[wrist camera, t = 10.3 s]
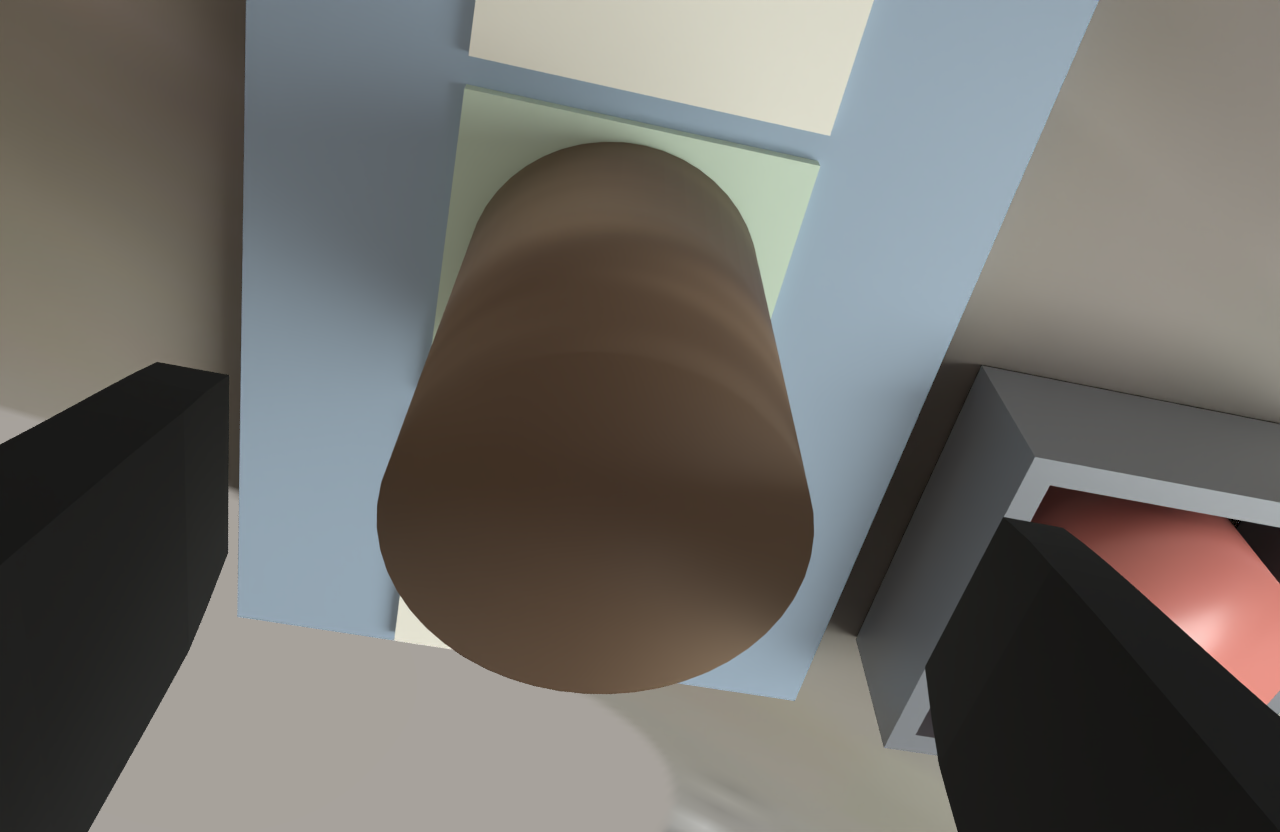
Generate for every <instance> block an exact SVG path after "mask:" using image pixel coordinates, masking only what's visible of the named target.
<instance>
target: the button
mask: <svg viewBox="0 0 1280 832" xmlns="http://www.w3.org/2000/svg"><path fill="white" fill-rule="evenodd" d="M1030 522H1034V523H1040V524H1045V525H1051V526H1056V527H1062V528H1064V529H1065V530H1067V531H1068V532H1069V533H1071V534H1072V535H1073V536H1075V537H1076V538H1077V539H1079V540H1080V541H1081V542H1083V543H1084V544H1085V545H1086V546H1088V547H1089V548H1090V549H1091V550H1093V551H1094V552H1095V553H1096V554H1097V555H1099V556H1100V557H1101V558H1102V559H1103V560H1105V561H1106V562H1107V563H1108V564H1109V565H1110V566H1112V567H1113V568H1114V569H1115V570H1116V571H1117V572H1118V573H1120V574H1121V575H1122V576H1123V577H1124V578H1125V579H1126V580H1128V581H1129V582H1130V583H1131V584H1132V585H1133V586H1134V587H1136V588H1137V589H1138V590H1139V591H1140V592H1141V593H1142V594H1143V595H1144V596H1146V597H1147V598H1148V599H1149V600H1150V601H1151V602H1152V603H1153V604H1154V605H1156V606H1157V607H1158V608H1159V609H1160V610H1161V611H1162V612H1163V613H1164V614H1165V615H1167V616H1168V617H1169V618H1170V619H1171V620H1172V621H1173V622H1174V623H1175V624H1177V625H1178V626H1179V627H1180V628H1181V629H1182V630H1183V631H1184V632H1185V633H1187V634H1188V635H1189V636H1190V637H1191V638H1192V639H1193V640H1194V641H1195V642H1196V643H1198V644H1199V645H1200V646H1201V647H1202V648H1203V649H1204V650H1205V651H1206V652H1208V653H1209V654H1210V655H1211V656H1212V657H1213V658H1214V659H1215V660H1216V661H1218V662H1219V663H1220V664H1221V665H1222V666H1223V667H1224V668H1225V669H1227V670H1228V671H1229V672H1230V673H1231V674H1232V675H1233V676H1234V677H1235V678H1237V679H1238V680H1239V681H1240V682H1241V683H1242V684H1243V685H1244V686H1246V687H1247V688H1248V689H1249V690H1250V691H1251V692H1252V693H1254V694H1255V695H1256V696H1257V697H1258V698H1259V699H1260V700H1261V701H1263V702H1264V703H1265V704H1266V705H1267V704H1268V703H1269V702H1270V701H1271V700H1272V699H1273V698H1274V696H1275V695H1276V694H1277V693H1278V692H1279V691H1280V584H1279V582H1278V581H1277V580H1276V579H1275V577H1274V576H1273V575H1272V574H1271V572H1270V571H1269V570H1268V569H1267V567H1266V566H1265V565H1264V564H1263V562H1262V561H1261V560H1260V558H1259V557H1258V556H1257V555H1256V553H1255V552H1254V551H1253V550H1252V548H1251V547H1250V546H1249V545H1248V543H1247V542H1246V541H1245V540H1244V538H1243V537H1242V536H1241V534H1240V533H1239V532H1238V531H1237V529H1236V528H1235V527H1234V526H1233V524H1232V523H1231V522H1230V521H1229V519H1228V518H1225V517H1220V516H1214V515H1209V514H1203V513H1198V512H1193V511H1187V510H1182V509H1176V508H1171V507H1165V506H1160V505H1154V504H1149V503H1143V502H1138V501H1133V500H1127V499H1122V498H1116V497H1111V496H1105V495H1100V494H1094V493H1089V492H1084V491H1078V490H1073V489H1067V488H1062V487H1056V486H1051V485H1050V486H1049V488H1048V490H1047V492H1046V494H1045V496H1044V497H1043V499H1042V501H1041V503H1040V505H1039V507H1038V508H1037V510H1036V512H1035V514H1034V516H1033V518H1032V520H1031V521H1030Z"/></svg>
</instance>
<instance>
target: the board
mask: <svg viewBox="0 0 1280 832" xmlns="http://www.w3.org/2000/svg"><path fill="white" fill-rule="evenodd" d="M1098 1H1099V0H246V42H245V114H244V186H243V257H242V329H241V400H240V472H239V545H238V547H239V548H238V551H239V552H238V615H237V616H238V617H243V618H250V619H256V620H263V621H269V622H276V623H283V624H289V625H296V626H302V627H309V628H316V629H322V630H330V631H336V632H342V633H349V634H355V635H362V636H369V637H375V638H382V639H389V640H394V641H400V642H406V643H413V644H420V645H426V646H433V647H439V648H446V649H451V648H450V647H449V646H447V645H446V644H444V643H443V642H442V641H441V640H440V639H438V638H437V637H436V636H435V635H434V634H433V633H431V632H430V631H429V630H428V629H427V628H426V627H425V626H424V625H423V624H422V623H421V622H420V621H419V620H418V618H417V617H416V616H415V615H414V614H413V613H412V612H411V611H410V609H409V608H408V606H407V605H406V604H405V602H404V601H403V599H402V598H401V596H400V595H399V593H398V592H397V590H396V588H395V586H394V584H393V582H392V580H391V578H390V576H389V574H388V572H387V570H386V567H385V564H384V560H383V557H382V554H381V551H380V546H379V540H378V533H377V502H378V497H379V491H380V486H381V481H382V479H383V476H384V473H385V471H386V468H387V465H388V462H389V460H390V457H391V454H392V452H393V449H394V446H395V443H396V441H397V438H398V435H399V433H400V430H401V427H402V425H403V422H404V419H405V416H406V414H407V411H408V408H409V406H410V403H411V400H412V397H413V395H414V392H415V389H416V387H417V384H418V381H419V378H420V376H421V373H422V370H423V368H424V365H425V362H426V360H427V357H428V354H429V351H430V349H431V346H432V343H433V341H434V338H435V335H436V332H437V330H438V327H439V324H440V322H441V319H442V316H443V313H444V311H445V308H446V305H447V303H448V300H449V297H450V295H451V292H452V289H453V286H454V284H455V281H456V278H457V276H458V273H459V270H460V267H461V265H462V262H463V259H464V257H465V254H466V251H467V248H468V246H469V243H470V240H471V238H472V235H473V232H474V230H475V227H476V224H477V222H478V220H479V218H480V216H481V214H482V212H483V211H484V209H485V207H486V205H487V204H488V203H489V201H490V200H491V199H492V197H493V196H494V195H495V193H496V192H497V191H498V190H499V189H500V188H501V187H502V186H503V185H504V184H505V183H506V182H507V181H508V180H509V179H510V178H511V177H512V176H514V175H515V174H516V173H518V172H519V171H520V170H522V169H523V168H524V167H526V166H527V165H529V164H531V163H532V162H534V161H536V160H538V159H540V158H541V157H543V156H546V155H548V154H551V153H553V152H556V151H558V150H561V149H564V148H568V147H572V146H576V145H580V144H587V143H596V142H625V143H632V144H638V145H644V146H648V147H651V148H655V149H658V150H662V151H665V152H667V153H669V154H672V155H674V156H676V157H679V158H681V159H683V160H685V161H686V162H688V163H690V164H691V165H693V166H695V167H696V168H698V169H699V170H701V171H702V172H703V173H704V174H706V175H707V176H708V177H710V178H711V179H712V180H713V181H715V183H716V184H717V185H718V186H719V187H720V188H721V189H722V190H723V191H724V192H725V193H726V194H727V195H728V196H729V198H730V199H731V200H732V202H733V203H734V205H735V206H736V207H737V209H738V210H739V212H740V214H741V216H742V217H743V219H744V221H745V223H746V225H747V227H748V230H749V232H750V235H751V238H752V241H753V244H754V248H755V252H756V257H757V261H758V265H759V270H760V274H761V279H762V283H763V288H764V292H765V297H766V301H767V305H768V310H769V314H770V319H771V323H772V328H773V332H774V337H775V341H776V345H777V350H778V354H779V359H780V363H781V368H782V372H783V377H784V381H785V385H786V390H787V394H788V399H789V403H790V408H791V412H792V417H793V421H794V425H795V430H796V434H797V439H798V443H799V448H800V452H801V457H802V461H803V466H804V470H805V474H806V479H807V483H808V488H809V492H810V498H811V503H812V508H813V514H814V539H813V546H812V554H811V559H810V562H809V565H808V568H807V572H806V575H805V578H804V580H803V582H802V584H801V586H800V588H799V590H798V592H797V594H796V596H795V598H794V600H793V601H792V603H791V604H790V605H789V607H788V608H787V610H786V611H785V613H784V614H783V616H782V617H781V618H780V619H779V620H778V621H777V622H776V623H775V625H774V626H773V627H772V628H771V629H770V630H769V631H768V632H767V633H766V634H765V635H764V636H763V637H762V638H760V639H759V640H758V641H757V642H756V643H754V644H753V645H752V646H751V647H750V648H748V649H747V650H745V651H744V652H742V653H741V654H739V655H738V656H736V657H735V658H733V659H732V660H730V661H729V662H727V663H725V664H723V665H721V666H719V667H717V668H715V669H713V670H711V671H709V672H707V673H704V674H702V675H699V676H697V677H694V678H691V679H689V680H686V681H683V682H680V684H687V685H693V686H700V687H707V688H713V689H720V690H726V691H733V692H740V693H746V694H753V695H759V696H766V697H773V698H779V699H786V700H793V701H795V699H796V697H797V694H798V692H799V690H800V687H801V685H802V683H803V680H804V678H805V676H806V674H807V671H808V669H809V667H810V664H811V662H812V660H813V657H814V655H815V653H816V650H817V648H818V646H819V644H820V641H821V639H822V637H823V634H824V632H825V630H826V627H827V625H828V623H829V621H830V618H831V616H832V614H833V611H834V609H835V607H836V604H837V602H838V600H839V598H840V595H841V593H842V591H843V588H844V586H845V584H846V581H847V579H848V577H849V575H850V572H851V570H852V568H853V565H854V563H855V561H856V558H857V556H858V554H859V551H860V549H861V547H862V545H863V542H864V540H865V538H866V535H867V533H868V531H869V528H870V526H871V524H872V522H873V519H874V517H875V515H876V512H877V510H878V508H879V505H880V503H881V501H882V499H883V496H884V494H885V492H886V489H887V487H888V485H889V482H890V480H891V478H892V476H893V473H894V471H895V469H896V466H897V464H898V462H899V459H900V457H901V455H902V452H903V450H904V448H905V446H906V443H907V441H908V439H909V436H910V434H911V432H912V429H913V427H914V425H915V423H916V420H917V418H918V416H919V413H920V411H921V409H922V406H923V404H924V402H925V400H926V397H927V395H928V393H929V390H930V388H931V386H932V383H933V381H934V379H935V377H936V374H937V372H938V370H939V367H940V365H941V363H942V360H943V358H944V356H945V353H946V351H947V349H948V347H949V344H950V342H951V340H952V337H953V335H954V333H955V330H956V328H957V326H958V324H959V321H960V319H961V317H962V314H963V312H964V310H965V307H966V305H967V303H968V301H969V298H970V296H971V294H972V291H973V289H974V287H975V284H976V282H977V280H978V278H979V275H980V273H981V271H982V268H983V266H984V264H985V261H986V259H987V257H988V254H989V252H990V250H991V248H992V245H993V243H994V241H995V238H996V236H997V234H998V231H999V229H1000V227H1001V225H1002V222H1003V220H1004V218H1005V215H1006V213H1007V211H1008V208H1009V206H1010V204H1011V202H1012V199H1013V197H1014V195H1015V192H1016V190H1017V188H1018V185H1019V183H1020V181H1021V179H1022V176H1023V174H1024V172H1025V169H1026V167H1027V165H1028V162H1029V160H1030V158H1031V155H1032V153H1033V151H1034V149H1035V146H1036V144H1037V142H1038V139H1039V137H1040V135H1041V132H1042V130H1043V128H1044V126H1045V123H1046V121H1047V119H1048V116H1049V114H1050V112H1051V109H1052V107H1053V105H1054V103H1055V100H1056V98H1057V96H1058V93H1059V91H1060V89H1061V86H1062V84H1063V82H1064V80H1065V77H1066V75H1067V73H1068V70H1069V68H1070V66H1071V63H1072V61H1073V59H1074V56H1075V54H1076V52H1077V50H1078V47H1079V45H1080V43H1081V40H1082V38H1083V36H1084V33H1085V31H1086V29H1087V27H1088V24H1089V22H1090V20H1091V17H1092V15H1093V13H1094V10H1095V8H1096V6H1097V4H1098Z"/></svg>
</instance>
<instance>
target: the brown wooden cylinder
mask: <svg viewBox="0 0 1280 832" xmlns="http://www.w3.org/2000/svg"><path fill="white" fill-rule="evenodd" d="M377 533H378V540H379V546H380V551H381V554H382V557H383V560H384V564H385V567H386V570H387V572H388V574H389V576H390V578H391V580H392V582H393V584H394V586H395V588H396V590H397V592H398V593H399V595H400V596H401V598H402V599H403V601H404V602H405V604H406V605H407V606H408V608H409V609H410V611H411V612H412V613H413V614H414V615H415V616H416V617H417V618H418V620H419V621H420V622H421V623H422V624H423V625H424V626H425V627H426V628H427V629H428V630H429V631H430V632H431V633H433V634H434V635H435V636H436V637H437V638H438V639H440V640H441V641H442V642H443V643H444V644H446V645H447V646H449V647H450V648H451V649H453V650H455V651H456V652H457V653H459V654H460V655H462V656H463V657H465V658H467V659H469V660H470V661H472V662H474V663H476V664H478V665H480V666H482V667H483V668H485V669H487V670H490V671H492V672H495V673H497V674H500V675H502V676H505V677H507V678H510V679H513V680H516V681H519V682H523V683H526V684H529V685H533V686H537V687H542V688H547V689H552V690H557V691H565V692H574V693H583V694H616V693H630V692H638V691H644V690H650V689H656V688H661V687H665V686H669V685H672V684H676V683H680V682H683V681H686V680H689V679H691V678H694V677H697V676H699V675H702V674H704V673H707V672H709V671H711V670H713V669H715V668H717V667H719V666H721V665H723V664H725V663H727V662H729V661H730V660H732V659H733V658H735V657H736V656H738V655H739V654H741V653H742V652H744V651H745V650H747V649H748V648H750V647H751V646H752V645H753V644H754V643H756V642H757V641H758V640H759V639H760V638H762V637H763V636H764V635H765V634H766V633H767V632H768V631H769V630H770V629H771V628H772V627H773V626H774V625H775V623H776V622H777V621H778V620H779V619H780V618H781V617H782V616H783V614H784V613H785V611H786V610H787V608H788V607H789V605H790V604H791V603H792V601H793V600H794V598H795V596H796V594H797V592H798V590H799V588H800V586H801V584H802V582H803V580H804V578H805V575H806V572H807V568H808V565H809V562H810V559H811V554H812V546H813V539H814V514H813V508H812V503H811V498H810V492H809V488H808V483H807V479H806V474H805V470H804V466H803V461H802V457H801V452H800V448H799V443H798V439H797V434H796V430H795V425H794V421H793V417H792V412H791V408H790V403H789V399H788V394H787V390H786V385H785V381H784V377H783V372H782V368H781V363H780V359H779V354H778V350H777V345H776V341H775V337H774V332H773V328H772V323H771V319H770V314H769V310H768V305H767V301H766V297H765V292H764V288H763V283H762V279H761V274H760V270H759V265H758V261H757V257H756V252H755V248H754V244H753V241H752V238H751V235H750V232H749V230H748V227H747V225H746V223H745V221H744V219H743V217H742V216H741V214H740V212H739V210H738V209H737V207H736V206H735V205H734V203H733V202H732V200H731V199H730V198H729V196H728V195H727V194H726V193H725V192H724V191H723V190H722V189H721V188H720V187H719V186H718V185H717V184H716V183H715V181H713V180H712V179H711V178H710V177H708V176H707V175H706V174H704V173H703V172H702V171H701V170H699V169H698V168H696V167H695V166H693V165H691V164H690V163H688V162H686V161H685V160H683V159H681V158H679V157H676V156H674V155H672V154H669V153H667V152H665V151H662V150H658V149H655V148H651V147H648V146H644V145H638V144H632V143H625V142H596V143H587V144H580V145H576V146H572V147H568V148H564V149H561V150H558V151H556V152H553V153H551V154H548V155H546V156H543V157H541V158H540V159H538V160H536V161H534V162H532V163H531V164H529V165H527V166H526V167H524V168H523V169H522V170H520V171H519V172H518V173H516V174H515V175H514V176H512V177H511V178H510V179H509V180H508V181H507V182H506V183H505V184H504V185H503V186H502V187H501V188H500V189H499V190H498V191H497V192H496V193H495V195H494V196H493V197H492V199H491V200H490V201H489V203H488V204H487V205H486V207H485V209H484V211H483V212H482V214H481V216H480V218H479V220H478V222H477V224H476V227H475V230H474V232H473V235H472V238H471V240H470V243H469V246H468V248H467V251H466V254H465V257H464V259H463V262H462V265H461V267H460V270H459V273H458V276H457V278H456V281H455V284H454V286H453V289H452V292H451V295H450V297H449V300H448V303H447V305H446V308H445V311H444V313H443V316H442V319H441V322H440V324H439V327H438V330H437V332H436V335H435V338H434V341H433V343H432V346H431V349H430V351H429V354H428V357H427V360H426V362H425V365H424V368H423V370H422V373H421V376H420V378H419V381H418V384H417V387H416V389H415V392H414V395H413V397H412V400H411V403H410V406H409V408H408V411H407V414H406V416H405V419H404V422H403V425H402V427H401V430H400V433H399V435H398V438H397V441H396V443H395V446H394V449H393V452H392V454H391V457H390V460H389V462H388V465H387V468H386V471H385V473H384V476H383V479H382V481H381V486H380V491H379V497H378V502H377Z"/></svg>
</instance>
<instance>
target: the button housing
mask: <svg viewBox="0 0 1280 832" xmlns="http://www.w3.org/2000/svg"><path fill="white" fill-rule="evenodd" d="M1050 485H1051V486H1056V487H1062V488H1067V489H1073V490H1078V491H1084V492H1089V493H1094V494H1100V495H1105V496H1111V497H1116V498H1122V499H1127V500H1133V501H1138V502H1143V503H1149V504H1154V505H1160V506H1165V507H1171V508H1176V509H1182V510H1187V511H1193V512H1198V513H1203V514H1209V515H1214V516H1220V517H1225V518H1231V519H1236V520H1242V521H1241V523H1240V524H1239V526H1238V527H1237V531H1238V532H1239V533H1240V534H1241V536H1242V537H1243V538H1244V540H1245V541H1246V542H1247V543H1248V545H1249V546H1250V547H1251V548H1252V550H1253V551H1254V552H1255V553H1256V555H1257V556H1258V557H1259V558H1260V560H1261V561H1262V562H1263V564H1264V565H1265V566H1266V567H1267V569H1268V570H1269V571H1270V572H1271V574H1272V575H1273V576H1274V577H1275V579H1276V580H1277V581H1278V582H1279V584H1280V424H1276V423H1271V422H1266V421H1261V420H1256V419H1251V418H1246V417H1241V416H1236V415H1230V414H1225V413H1220V412H1215V411H1210V410H1205V409H1200V408H1195V407H1190V406H1185V405H1180V404H1175V403H1170V402H1165V401H1160V400H1154V399H1149V398H1144V397H1139V396H1134V395H1129V394H1124V393H1119V392H1114V391H1109V390H1104V389H1099V388H1094V387H1089V386H1083V385H1078V384H1073V383H1068V382H1063V381H1058V380H1053V379H1048V378H1043V377H1038V376H1033V375H1028V374H1023V373H1018V372H1012V371H1007V370H1002V369H997V368H992V367H987V366H981V368H980V370H979V372H978V375H977V377H976V379H975V381H974V383H973V385H972V388H971V390H970V392H969V394H968V396H967V399H966V401H965V403H964V405H963V407H962V409H961V412H960V414H959V416H958V418H957V420H956V422H955V425H954V427H953V429H952V431H951V433H950V436H949V438H948V440H947V442H946V444H945V446H944V449H943V451H942V453H941V455H940V457H939V460H938V462H937V464H936V466H935V468H934V470H933V473H932V475H931V477H930V479H929V481H928V483H927V486H926V488H925V490H924V492H923V494H922V497H921V499H920V501H919V503H918V505H917V507H916V510H915V512H914V514H913V516H912V518H911V520H910V523H909V525H908V527H907V529H906V531H905V534H904V536H903V538H902V540H901V542H900V544H899V547H898V549H897V551H896V553H895V555H894V558H893V560H892V562H891V564H890V566H889V568H888V571H887V573H886V575H885V577H884V579H883V581H882V584H881V586H880V588H879V590H878V592H877V595H876V597H875V599H874V601H873V603H872V605H871V608H870V610H869V612H868V614H867V616H866V618H865V621H864V623H863V625H862V627H861V629H860V632H859V634H858V636H857V638H856V641H857V645H858V649H859V652H860V656H861V660H862V664H863V668H864V672H865V676H866V680H867V684H868V687H869V691H870V695H871V699H872V703H873V707H874V711H875V715H876V719H877V722H878V726H879V730H880V734H881V738H882V742H883V746H884V748H890V749H896V750H903V751H910V752H917V753H924V754H930V755H937V749H936V743H935V737H934V731H933V725H932V719H931V711H930V703H929V696H928V688H927V680H926V672H925V666H926V664H927V662H928V660H929V658H930V656H931V654H932V652H933V650H934V648H935V646H936V645H937V643H938V641H939V639H940V637H941V635H942V633H943V631H944V629H945V627H946V625H947V623H948V622H949V620H950V618H951V616H952V614H953V612H954V610H955V608H956V606H957V604H958V602H959V600H960V599H961V597H962V595H963V593H964V591H965V589H966V587H967V585H968V583H969V581H970V579H971V577H972V576H973V574H974V572H975V570H976V568H977V566H978V564H979V562H980V560H981V558H982V556H983V555H984V553H985V551H986V549H987V547H988V545H989V543H990V541H991V539H992V537H993V535H994V533H995V532H996V530H997V528H998V526H999V524H1000V522H1001V520H1002V518H1003V517H1007V518H1012V519H1018V520H1023V521H1029V522H1030V521H1031V520H1032V518H1033V516H1034V514H1035V512H1036V510H1037V508H1038V507H1039V505H1040V503H1041V501H1042V499H1043V497H1044V496H1045V494H1046V492H1047V490H1048V488H1049V486H1050ZM1267 706H1268V707H1269V708H1271V709H1272V710H1273V711H1274V712H1275V713H1276V714H1279V713H1280V691H1279V692H1278V693H1277V694H1276V695H1275V696H1274V698H1273V699H1272V700H1271V701H1270V702H1269V703H1268V704H1267ZM937 756H938V755H937Z"/></svg>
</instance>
